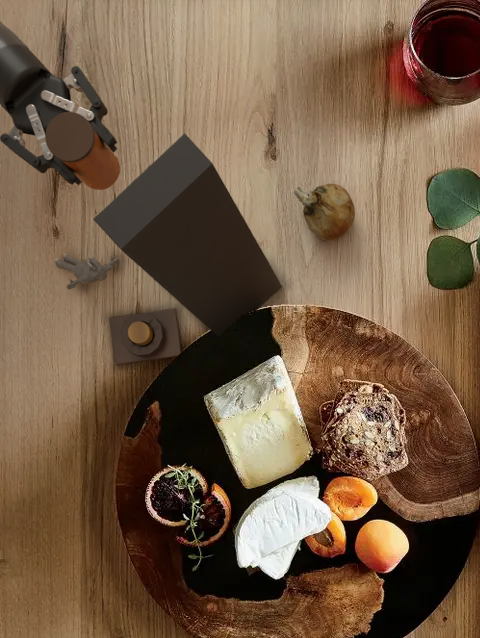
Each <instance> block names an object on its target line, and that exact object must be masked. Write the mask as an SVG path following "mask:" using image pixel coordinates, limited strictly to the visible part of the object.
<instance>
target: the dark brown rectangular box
mask: <svg viewBox="0 0 480 638" xmlns="http://www.w3.org/2000/svg"><path fill="white" fill-rule="evenodd" d="M92 220H93V221H94V223H96V225H97V226H98V227H99V228H100V229H101V230H102V231H103V232H104V233H105V234H106V235H107V237H109V239H110V240H111V241H112V242H113V243H114V244H115V245H116V246H117V247H118V249H119V250H120V251H122V252H123V253H124V254H125V255H126V256H127V257H128V258H129V259H131V261H133V262H134V263H135V264H136V265H137V266H138V267H140V268H141V269H142V270H143V271H144V272H145V273H146V274H147V275H148V276H149V277H151V278H152V280H154V281H155V282H156V283H157V284H159V286H161V288H163V289H164V290H165V291H166V292H168V293H169V295H171V296H172V297H173V298H174V299H175V300H177V302H179V303H180V304H181V305H182V306H183V307H184V308H185V309H186V310H187V311H188V312H190V313H191V314H192V315H193V316H194V317H195V318H196V319H198V320H199V321H200V323H202V324H203V325H204V326H205V327H206V328H207V329H209V330H210V331H211V332H212V333H213V334H215V336H217V337H218V338H219V336H220V335H221V334H222V333H223V332H224V331H225V330H226V329H227V328H228V327H229V326H231V325H232V323H233V322H235V321H236V320H237V318H239V317H240V316H242V315H245V314H247V313H249V312H252V311H256V310H257V311H258V310H260V308H261V307H263V306H264V304H265V303H266V302H268V301H269V300H270V299H271V298H272V297H273V296H274V295H275V294H276V293H277V292H278V291H280V290H281V289H282V288H283V285H282V283H281V281H280V279H279V278H278V276H277V275H276V273H275V271H274V269H273V268H272V265H271V263H270V262H269V260H268V258H267V257H266V255H265V253H264V252H263V249H262V248H261V246H260V245H259V242H258V241H257V239H256V238H255V236H254V234H253V232H252V230H251V228H250V226H249V225H248V223H247V222H246V220H245V218H244V216H243V215H242V213H241V211H240V209H239V207H238V205H237V204H236V202H235V200H234V198H233V197H232V195H231V193H230V191H229V189H228V188H227V186H226V184H225V182H224V181H223V179H222V178H221V175H220V173H218V170H217V169H216V167H215V165H214V164H213V162H212V161H211V160H210V159H209V157H207V156H206V155H205V154H204V152H203V151H202V150H201V149H200V148H199V147H198V146H197V145H196V143H194V141H193V140H192V139H191V138H190V137H189V136H188V135H187V134H186V133H183V134H181V136H180V137H179V138H178V139H177V140H175V141H174V143H173V144H171V145H170V146H169V147H168V148H167V149H166V150H165V151H164V152H163V153H162V154H160V156H159V157H157V158H156V159H155V160H154V161H153V162H152V163H151V164H150V165H149V166H148V167H147V168H145V170H144V171H143V172H141V174H139V175H138V176H137V177H136V178H135V179H133V181H132V182H131V183H130V184H129V185H127V187H126V188H125V189H124V190H122V192H120V193H119V194H118V195H117V196H116V197H115V198H114V199H113V200H112V201H111V202H109V204H108V205H106V206H105V207H104V208H103V209H102V210H101V211H100V212H98V214H97V215H96V216H95V217H94V218H93V219H92ZM257 311H256V312H257Z"/></svg>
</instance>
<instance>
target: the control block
mask: <svg viewBox="0 0 480 638" xmlns="http://www.w3.org/2000/svg"><path fill="white" fill-rule="evenodd" d="M178 317H179V316H178V310H177V309H176V308H169V309H160V310H154V311H153V310H152V311H146V312H140V313H131V314H125V315H118V316H112V317H108V320H109V328H110V336H111V337H110V338H111V344H112V351H113V358H114V360H113V361H114V365H116V366H123V365H128V364H130V365H131V364H136V363H144V362H150V361H158V360H166V359H173V358H178V357H177V356H178V355H179V354H180V353H181V352H182V353H183V347H182V339H181V332H180V323H179V318H178ZM137 321H140V322H144V323H145V324H147V325H148V326H149V327H150V328H151V329H152V331H153V338H152V340H151V341H150V342H149V343H148V344H146V345H138V344H136V343H134V342H133V341H131V340H130V338H129V336H128V329H129V327H130V325H131V324H133V323H134V322H137Z"/></svg>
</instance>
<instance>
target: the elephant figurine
mask: <svg viewBox="0 0 480 638" xmlns="http://www.w3.org/2000/svg"><path fill="white" fill-rule="evenodd" d="M96 256H97V254H95V255H94V256H93V257H88V258H87V259H81V260H80V259H77V258H75V257H74V256H71V255H70V254H68V253H63V255H62V259H63V260H62V259H61V258H60V257H56V258H55V259H54V264H55V266H56V268H58V269H61V270H66V271H68V272H70V273H72V274H74V277H75V278H76V279H73V280H72V279H71V278H70V277H69V278H68V281H69V283H67V284H65V286H66V289H67V290H68V291H70V290H71V289H75V288H76V287H77V285H79V284H82V287H83V286H85V285H86V283H88V284H93V283H95V282H96V281H97V282H104V281H106V280H107V278H108V272H109V271H111V270H113V268H115V267H116V266H118V264H119V263H120V259H119V258H118V257H117V258H115V259H114V256H113V255H111V257H110V260H109V262H107V263H105V264H101V262H100V261H98V259H96Z"/></svg>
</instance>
